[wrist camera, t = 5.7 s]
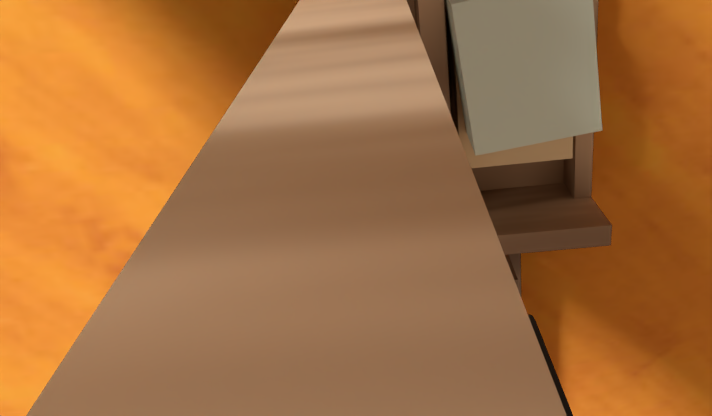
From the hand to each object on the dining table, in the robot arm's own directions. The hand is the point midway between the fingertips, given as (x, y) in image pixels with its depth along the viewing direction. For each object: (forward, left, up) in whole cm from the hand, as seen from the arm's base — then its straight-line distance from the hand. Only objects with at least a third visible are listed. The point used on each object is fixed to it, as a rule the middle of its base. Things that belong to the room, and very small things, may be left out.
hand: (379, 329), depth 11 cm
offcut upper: (0, +6, -19) cm, 19 cm away
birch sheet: (0, 0, -9) cm, 9 cm away
